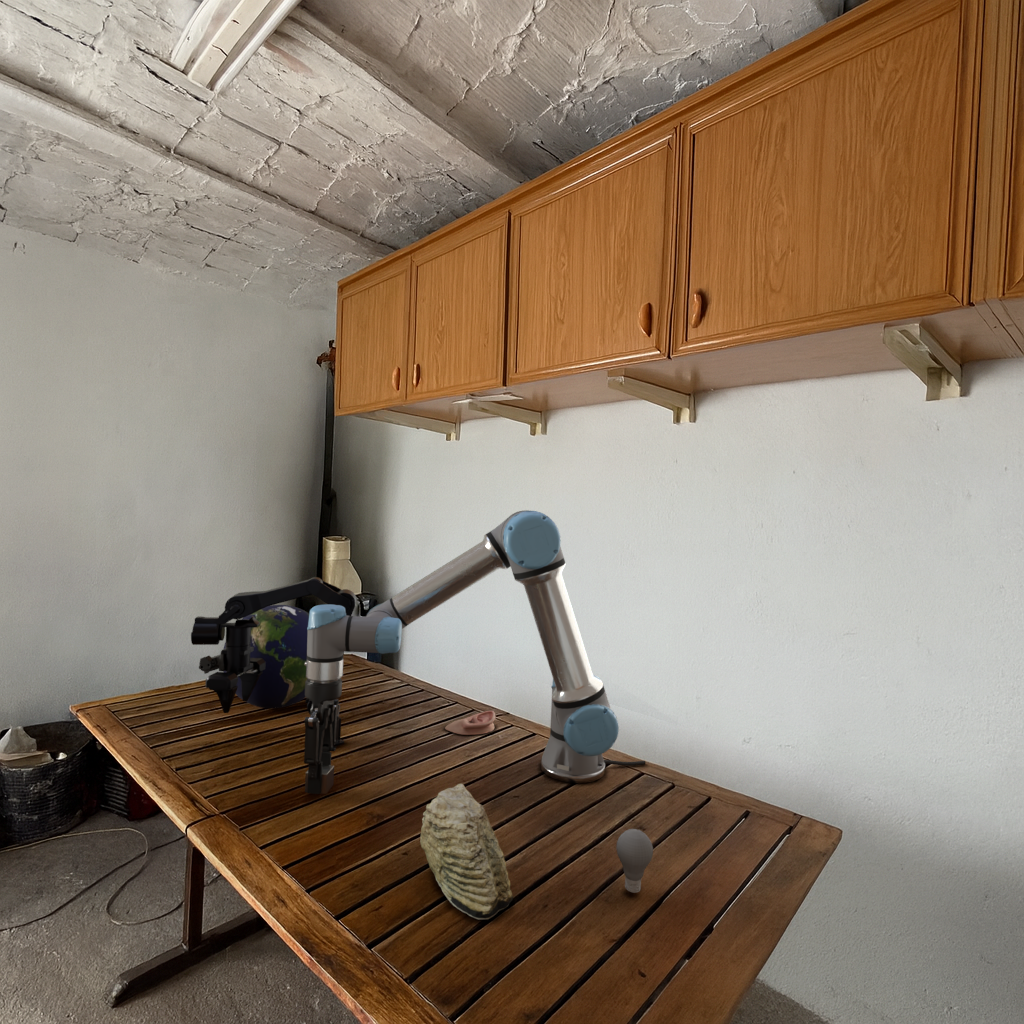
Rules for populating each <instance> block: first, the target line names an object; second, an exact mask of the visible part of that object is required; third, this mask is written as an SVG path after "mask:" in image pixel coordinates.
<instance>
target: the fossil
mask: <svg viewBox="0 0 1024 1024" xmlns="http://www.w3.org/2000/svg"><path fill="white" fill-rule="evenodd" d="M422 816H423V817H422V818H421V821H422V825H421V827H420V828H421V829H420V837H419V838H420V841H419V843H420V847H421V849H422V850H423V851H424V853H425V856H426V860H427V862H428V863H427V864H428V866H429V868H430V870H431V872H432V873H433V874H434V877H435V881H436V882H437V884H438V886H439V887H440V889H441V891H442V893H443V895H444V896H445V897H446V899H447V900H448V901H449V903H450V904H451V905H452V906H453V907H455V908H456V909H457V910H459V911H461V912H462V913H464V914H467V915H468V917H471V918H473V919H476V920H479V921H480V920H489V919H491V918H493V917H494V916H495V915H497V914H498V912H500V911H503V910H504V909H506V908H507V907H509V905H510V904H511V902H512V901H513V900H514V897H513V893H512V890H511V881H510V879H509V872H508V869H507V862H506V860H505V855H504V852H503V849H501V846H500V844H499V839H498V838H497V836H496V833H495V831H494V829H493V827H492V825H491V823H490V820H489V817H488V815H487V812H486V810H485V806H483V805H482V804H480V803H479V802H478V801H477V800H476V799H475V798H474V796H473V795H472V794H471V792H470V791H469V790H468V789H467V788H466V787H465V785H464V783H457V785H455V786H453V787H448V788H445V789H444V790H441V791H439V792H438V794H437V796H436V797H435V798H433V799H432V800H431V802H430V803H427V804H426V807H425V811H424V812H423V813H422Z"/></svg>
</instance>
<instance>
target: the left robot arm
mask: <svg viewBox="0 0 1024 1024" xmlns="http://www.w3.org/2000/svg"><path fill="white" fill-rule="evenodd" d="M307 596H308V597H309V596H314V597H316V598H318V599H319V600H320V601H322V602H323V603H325V605H326V604H332V605H340V606H343V607H344V608H345V612H346V615H347V616H353V613H354V611H355V608H356V605H357V596H356V595H355V592H353V591H352V590H350V589H347V588H344V589H341V588H340V587H338V586H336V585H333V584H331V583H329V582H326V581H325V580H323V579H322V578H321V577H318V576H313V577H310V578H309V579H306V580H301V581H298V582H293V583H289V584H287V585H283V586H279V587H276V588H272V589H268V590H261V591H259V590H257V591H245V592H237V593H236V594H234V595H232V596H231V597H229V598H228V599H227V601H226V602H225V604H224V611H223V612H222V613H220V615H218V617H216V616H215V617H212V616H209V617H208V616H196V617H195V618H194V623H193V625H192V630H191V632H190V642H191V644H192V645H193V646H197V645H198V646H203V645H204V646H217V645H219V644H220V642H221V641H224V640H225V642H226V648H225V649H224V648H223V649H221V650H220V654H218V655H214V656H210V655H207V656H203V657H201V658H199V662H198V663H199V665H198V669H199V670H200V671H202V672H203V673H204V675H206V674H209V673H210V672H214V671H216V670H218V671H217V672H214V673H212V674H210V675H208V677H206V678H205V686H204V687H205V688H206V689H209V690H210V691H213V692H214V693H215V694H216V695H217V697H218V700H219V703H220V706H221V708H222V711H223V713H224V714H229V713H230V710H231V708H232V706H233V702H234V699H235V696H236V694H235V693H236V691H237V688H238V686H236V685H237V682H238V676H239V678H240V679H241V687H242V698H243V700H242V701H243V702H245V701H248V699H249V697H250V695H251V693H252V691H253V689H254V687H255V685H256V683H257V681H258V679H259V678H260V676H261V674H262V673H263V670H265V666H266V662H265V661H264V660H263V659H262V658H250V652H252V651H254V647H250V646H251V627H257V626H258V625H259V624H260V622H259V621H257V620H256V619H255V618H254V616H252V617H251V618H250V619H243V618H244V617H246V616H248V615H250V614H253V613H255V612H257V611H259V610H261V609H263V608H265V607H267V606H272V605H279V604H282V603H286V602H290V601H293V600H297V599H300V598H305V597H307ZM232 620H235V622H231V621H232ZM223 671H226V672H227V673H226V672H223ZM304 704H305V705H306V711H307V713H308V714H309V715H310V709H311V707H312V701H311V700H308V699H307V698H305V701H304ZM340 711H341V705H340V704H338V710H337V729H336V744H335V745H333V747H337V746H340V745H343V744H344V743H345V741H344V740H343V739H341V737H342V735H341V733H342V717H340Z"/></svg>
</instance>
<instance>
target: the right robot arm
mask: <svg viewBox="0 0 1024 1024" xmlns="http://www.w3.org/2000/svg"><path fill="white" fill-rule="evenodd" d="M561 543H562V541H561V533H560V530H559V528H558V526H557V524H556V523H555V521H553V519H552V518H550V516H548V515H546V514H545V513H543V512H541V511H537V510H529V509H528V510H519V511H516V512H514V513H512V514H510V515H509V516H508V517H507V518H506V519H504V520H503V521H502V522H501V523H500V524H498V525H497V526H496V527H495V528H493V529H492V530H490V531H488V532H487V533H485V534H484V535H483V539H482V541H481V542H479V543H477V544H475V545H474V546H473V547H471V548H469V549H468V550H466V551H464V552H463V553H461V554H460V555H458V556H456V557H455V558H453V559H452V560H449V562H446V563H445V564H444V565H442V566H440V567H438V568H437V569H435V570H434V571H432V572H430V573H429V574H427V575H426V576H424V577H422V578H421V579H419V580H418V581H415V582H414V583H413V584H411V585H409V586H408V587H406V588H405V589H403V590H402V591H400V592H399V593H396V594H394V595H393V596H392V597H390V598H389V599H387V600H385V601H384V602H382V603H379V604H376V605H375V606H374V607H372V608H371V609H369V610H368V612H367V613H366V615H365V616H353V615H351V616H347V615H346V612H345V608H344V607H343V606H340V605H332V604H326V603H325V604H318V605H315V606H313V607H312V608H310V609H309V612H308V613H309V622H308V627H307V630H308V636H307V662H305V666H306V677H307V678H308V679H307V680H306V681H305V697H306V698H307V699H308V700H311V701H312V707H311V709H310V714H309V716H305V718H304V728H305V729H304V752H303V753H304V756H303V764H305V765H308V767H307V771H308V788H307V792H306V793H307V794H312V795H313V794H314V795H321V794H320V793H321V785H322V765H331V766H332V752H336V750H337V746H333V745H335V744H336V729H337V710H338V704H339V703H340V699H339V698H341V696H342V694H343V679H342V677H343V676H344V652H346V653H371V654H381V655H385V654H395V653H399V651H400V649H401V643H402V635H403V629H404V628H406V627H408V626H409V625H411V624H412V623H413V622H415V621H417V620H418V619H420V618H422V617H423V616H425V615H426V614H428V613H429V612H431V611H433V610H435V609H436V608H438V607H440V606H441V605H443V604H444V603H447V602H448V601H450V600H451V599H452V598H454V597H455V596H457V595H459V594H461V593H463V592H464V591H465V590H467V589H468V588H470V587H472V586H473V585H475V584H477V583H479V582H480V581H482V580H483V579H485V578H486V577H488V576H490V575H492V574H493V573H494V572H496V571H498V570H499V569H502V570H507V569H509V568H510V569H511V571H512V572H511V573H512V576H513V579H514V581H516V582H518V583H519V584H521V585H522V586H523V588H524V591H525V594H526V596H527V599H528V603H529V606H530V609H531V612H532V616H533V620H534V622H535V625H536V629H537V632H538V635H539V638H540V641H541V644H542V648H543V651H544V654H545V658H546V661H547V663H548V667H549V670H550V673H551V676H552V683H551V684H552V685H551V686H550V687H551V706H550V707H551V708H550V709H551V710H550V726H549V727H550V730H549V737H548V741H547V742H546V745H545V748H544V751H543V753H542V757H541V760H540V765H541V766H540V769H541V770H542V772H543V773H544V774H545V775H547V776H548V777H550V778H552V779H555V780H557V781H561V782H566V783H573V784H585V783H591V782H596V781H597V780H600V779H602V777H604V776H605V770H606V769H605V768H606V765H613V766H614V765H615V766H624V767H626V766H627V767H631V766H644V765H646V761H645V760H638V761H622V760H621V761H620V760H612V759H604V756H603V754H605V753H606V752H607V751H609V750H610V749H611V748H612V747H613V746H614V744H615V742H616V741H617V739H618V736H619V731H620V729H619V727H620V726H619V721H618V718H617V716H616V714H615V712H614V710H612V708H611V705H610V702H609V699H608V695H607V692H606V688H605V686H604V683H603V680H601V678H600V677H599V676H597V675H595V674H594V673H593V671H592V667H591V664H590V660H589V657H588V654H587V651H586V648H585V645H584V641H583V638H582V635H581V631H580V628H579V625H578V622H577V619H576V615H575V613H574V609H573V607H572V603H571V600H570V596H569V593H568V590H567V587H566V584H565V579H564V577H563V571H564V569H565V567H566V565H567V564H566V560H565V557H564V553H563V551H562V546H561ZM306 698H305V699H306ZM339 705H340V704H339Z"/></svg>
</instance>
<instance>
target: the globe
mask: <svg viewBox="0 0 1024 1024" xmlns="http://www.w3.org/2000/svg"><path fill="white" fill-rule="evenodd" d="M309 613H310V612H308V611H305V610H304V609H302V608H299V607H297V606H292V605H290V604H289V605H288V604H275V605H271V606H267V607H265V608H263V609H261V610H259V611H257V612H255V613H253V614H250V615H248V616H246V617H244V618H242V619H250V618H251V617H252V616H254V618H255V619H256V620H257V621H259V622H260V624H259V625H258V626H257V627H251V646H250V647H254V651H252V652H250V658H262V659H263V660H264V661H265V662H266V666H265V670H263V673H262V674H261V676H260V678H259V679H258V681H257V683H256V685H255V687H254V689H253V691H252V693H251V695H250V697H249V699H248V701H244V702H245V703H247V704H248V705H251V706H254V707H258V708H262V709H282V708H285V707H289V706H293V705H295V704H298V703H299V702H301V701H303V700H304V699H306V697H305V681H306V680H307V679H308V678H307V677H306V666H305V662H307V636H308V630H307V627H308V622H309ZM225 648H226V641H225V642H224V645H223V649H225ZM222 672H226V671H222ZM226 673H227V672H226ZM236 686H238V688H237V691H236V693H235V696H237V697H238V698H239V699H240V700H242V701H243V698H242V687H241V679H240V678H239V676H238V682H237V685H236Z"/></svg>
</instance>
